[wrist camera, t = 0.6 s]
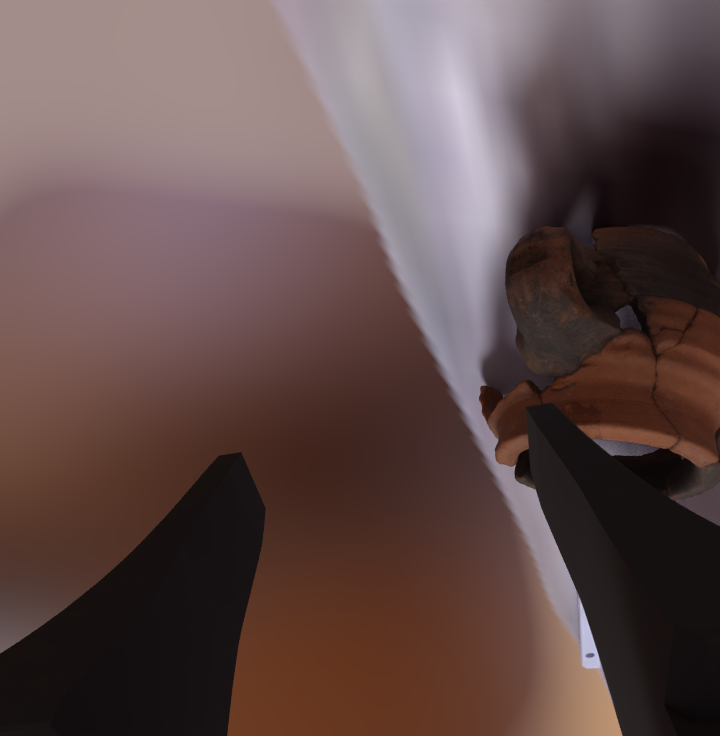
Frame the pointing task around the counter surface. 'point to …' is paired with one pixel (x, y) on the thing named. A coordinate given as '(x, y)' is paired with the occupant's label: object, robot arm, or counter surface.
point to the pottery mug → (617, 351)
